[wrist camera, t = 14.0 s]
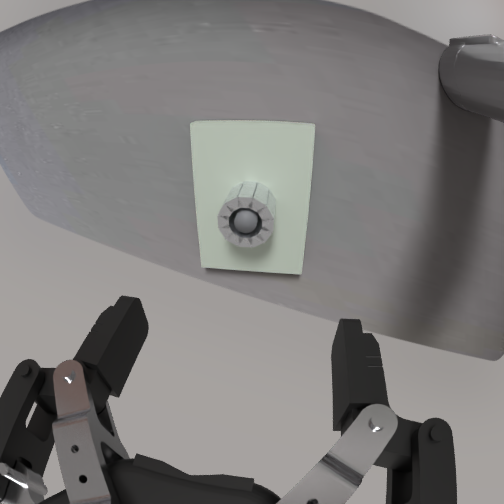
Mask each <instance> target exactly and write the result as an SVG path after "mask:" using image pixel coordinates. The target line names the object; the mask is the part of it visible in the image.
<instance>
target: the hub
mask: <svg viewBox="0 0 504 504" xmlns="http://www.w3.org/2000/svg"><path fill="white" fill-rule="evenodd" d="M239 208H250V209H252V210H254V211H256V212H257V213H258V214H259V216H258V220H257V225H256V228H255V229H254V230H253V231H252V232H249V233H243V232H240V231H239V230H238V229H237V228H236V227H235V224H234V220H235V217H236V215H237V212H238V209H239ZM275 209H276V199H275V197H274V196H273V194H272V192H271V190H270V189H269V188H268V187H266V186H264V185H263V184H261V183H259V182H258V183H257V182H256V181H243V182H241V183H239V184H237V185H235V186H233V187H232V189H231V190H230V192H229V194H228V195H227V197H226V199H225V201H224V203H223V205H222V207H221V209H220V211H219V213H218V215H217V217H218V228H219V230H220V232H221V233H222V235H223V236H224V238H225V239H226V240H227V241H229V242H231V243H233V244H234V245H236V246H239V247H250V248H252V247H255V246H258V245H260V244H262V243H265V242H266V241H267V239H268V238H269V237H270V235H271V234H272V233H273V229H274V220H275Z"/></svg>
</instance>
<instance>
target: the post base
mask: <svg viewBox="0 0 504 504" xmlns="http://www.w3.org/2000/svg"><path fill="white" fill-rule="evenodd" d="M190 131H191V149H192V164H193V179H194V192H195V204H196V215H197V226H198V237H199V247H200V256H201V265H202V267H204V268H217V269H230V270H243V271H257V272H271V273H286V274H301V273H302V265H303V257H304V248H305V239H306V230H307V220H308V210H309V200H310V189H311V177H312V165H313V151H314V136H315V125H314V124H313V123H300V122H284V121H257V120H212V121H194V122H192V123H190ZM243 181H256V182H257V183H258V182H259V183H261V184H263V185H264V186H266V187H268V188H269V189H270V190H271V192H272V194H273V196H274V197H275V199H276V209H275V220H274V229H273V233H272V234H271V235H270V237H269V238H268V239H267V241H266V242H265V243H262V244H260V245H258V246H255V247H252V248H250V247H239V246H236V245H234V244H233V243H231V242H229V241H227V240H226V239H225V238H224V236H223V235H222V233H221V232H220V230H219V228H218V217H217V215H218V213H219V211H220V209H221V207H222V205H223V203H224V201H225V199H226V197H227V195H228V194H229V192H230V190H231V189H232V187H233V186H235V185H237V184H239V183H241V182H243ZM258 216H259V214H258V213H257V212H256V211H254V210H252V209H250V208H239V209H238V212H237V215H236V217H235V220H234V224H235V227H236V228H237V229H238V230H239V231H240V232H243V233H249V232H252V231H253V230H254V229H255V228H256V225H257V220H258Z"/></svg>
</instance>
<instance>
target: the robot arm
mask: <svg viewBox="0 0 504 504" xmlns="http://www.w3.org/2000/svg"><path fill="white" fill-rule="evenodd" d="M439 74H440V79H441V83H442V86H443V88H444V90H445V92H446V94H447V95H448V97H449V98H450V99H451V100H452V101H453V103H454V104H456V105H457V106H458V107H460V108H462V109H464V110H467V111H470V112H473V113H477V114H480V115H483V116H486V117H489V118H492V119H495V120H498V121H500V122H503V123H504V40H502V39H500V38H498V37H496V36H495V35H491V34H490V35H478V36H469V37H459V38H452V39H450V44H449V47H448V48H447V49H446V50H445V51H444V52H443V54H442V56H441V59H440V63H439ZM147 334H148V321H147V318H146V316H145V313H144V310H143V307H142V304H141V301H140V299H139V298H135V297H128V296H121V297H120V298H119V299H118V301H117V302H116V304H115V305H114V306H110V307H108V308H107V309H106V310H105V311H104V312H103V313H101V315H100V316H99V318H98V319H97V321H96V324H95V325H94V326H93V327H92V329H91V332H89V334H88V335H87V337H86V339H85V340H84V342H83V344H82V345H81V347H80V349H79V350H78V352H77V354H76V356H75V357H74V358H73V360H66V361H64V362H62V363H61V364H59V365H58V366H57V368H40V366H39V365H38V364H37V362H36V361H34V360H32V359H27V360H24V361H22V362H21V363H20V364H19V365H18V366H17V367H16V369H15V371H14V372H13V374H12V376H11V378H10V380H9V382H8V384H7V386H6V388H5V389H4V391H3V393H2V395H1V397H0V504H345V502H346V501H347V500H348V499H349V498H350V497H351V496H352V494H353V493H354V492H355V491H356V489H357V488H358V487H359V485H360V484H361V482H362V478H363V477H364V475H365V474H366V473H367V472H368V470H369V469H370V467H371V466H372V465H376V466H380V467H384V468H387V492H386V493H387V494H386V504H457V487H456V486H457V485H456V468H455V467H456V466H455V454H454V445H453V436H452V430H451V428H450V426H449V425H448V423H447V422H446V421H444V420H442V419H440V418H431V419H428V420H427V421H425V422H424V423H418V422H414V421H410V420H406V419H403V418H401V417H399V416H397V415H396V414H395V413H394V411H393V410H392V409H391V408H390V406H389V403H388V397H387V391H386V383H385V377H384V371H383V368H382V359H381V354H380V348H379V344H378V342H377V341H376V339H375V338H374V336H373V335H372V333H363V332H362V325H361V321H360V320H359V319H340V321H339V324H338V328H337V331H336V335H335V338H334V342H333V345H332V354H331V361H332V388H333V431H341V438H340V439H339V440H338V441H337V443H336V444H335V445H334V446H333V447H332V448H331V450H330V451H329V452H328V453H327V454H326V455H325V456H324V457H323V458H322V459H321V460H320V461H319V462H318V463H317V464H316V465H315V466H314V467H313V468H312V469H311V471H310V472H309V473H308V474H307V475H306V476H305V477H304V478H303V479H302V480H301V481H300V482H299V483H298V484H297V485H296V486H295V487H294V488H293V489H292V490H291V491H289V492H288V493H287V494H286V495H285V496H284V497H283V498H282V499H281V498H280V497H279V496H277V495H276V494H275V493H274V492H272V491H270V490H268V489H267V488H265V487H263V486H261V485H258V484H255V483H254V479H253V478H245V477H237V476H230V475H223V474H222V475H188V474H186V473H184V472H182V471H180V470H178V469H176V468H174V467H172V466H171V465H169V464H167V463H165V462H163V461H160V460H156V459H153V458H150V457H146V456H143V455H140V454H136V456H135V459H130V458H129V456H128V453H127V452H126V449H125V448H124V446H123V445H122V443H121V441H120V439H119V436H118V433H117V430H116V427H115V424H114V420H113V417H112V413H111V410H110V406H109V403H108V401H107V400H108V397H109V395H112V396H115V397H119V396H120V394H121V392H122V389H123V387H124V384H125V383H126V380H127V378H128V376H129V374H130V372H131V369H132V367H133V365H134V363H135V361H136V358H137V356H138V354H139V352H140V350H141V348H142V346H143V343H144V341H145V339H146V337H147ZM34 402H36V404H37V406H36V408H35V411H34V413H33V415H32V418H31V420H30V422H29V424H28V427H27V428H26V419H27V417H28V415H29V412H30V410H31V408H32V406H33V403H34ZM54 442H55V445H56V450H57V455H58V460H59V464H60V469H61V473H62V476H63V480H64V484H65V487H66V489H65V490H63V491H61V492H59V493H57V494H55V495H53V496H51V497H49V498H47V499H46V500H44V495H46V494H47V487H46V486H45V485H44V482H43V479H42V477H43V474H44V471H45V468H46V465H47V462H48V459H49V456H50V453H51V451H52V448H53V445H54Z"/></svg>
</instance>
